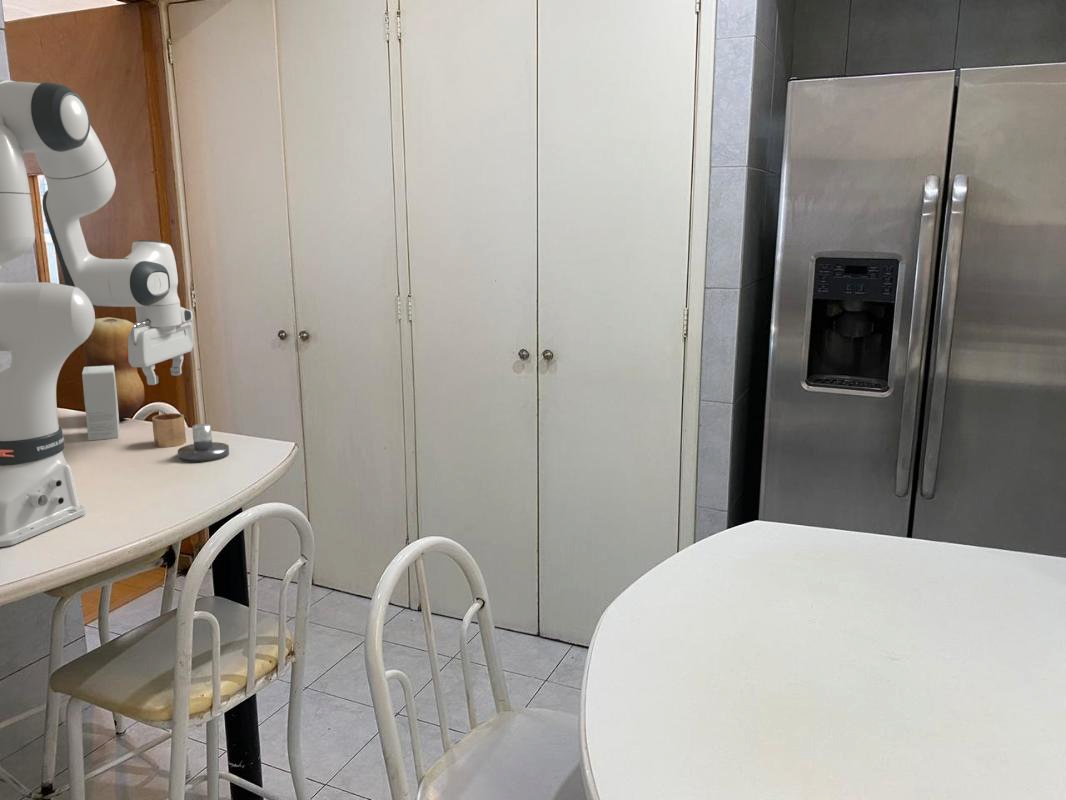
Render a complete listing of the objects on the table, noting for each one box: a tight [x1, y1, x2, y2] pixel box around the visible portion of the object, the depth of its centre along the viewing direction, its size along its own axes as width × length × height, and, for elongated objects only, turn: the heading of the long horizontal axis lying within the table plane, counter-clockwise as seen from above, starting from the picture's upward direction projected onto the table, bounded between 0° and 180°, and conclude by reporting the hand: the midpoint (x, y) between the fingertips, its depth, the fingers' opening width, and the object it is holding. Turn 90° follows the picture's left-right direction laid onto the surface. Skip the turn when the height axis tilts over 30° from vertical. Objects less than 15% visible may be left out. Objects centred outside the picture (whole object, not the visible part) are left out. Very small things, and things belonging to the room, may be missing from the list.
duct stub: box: [177, 423, 230, 463], centre depth 172 cm, size 10×10×6 cm
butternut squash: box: [82, 316, 145, 421], centre depth 199 cm, size 14×13×25 cm
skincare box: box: [81, 365, 120, 442], centre depth 186 cm, size 8×7×16 cm
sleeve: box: [151, 412, 187, 448], centre depth 182 cm, size 6×6×6 cm
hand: (165, 379), depth 179 cm, fingers open, 8 cm apart
